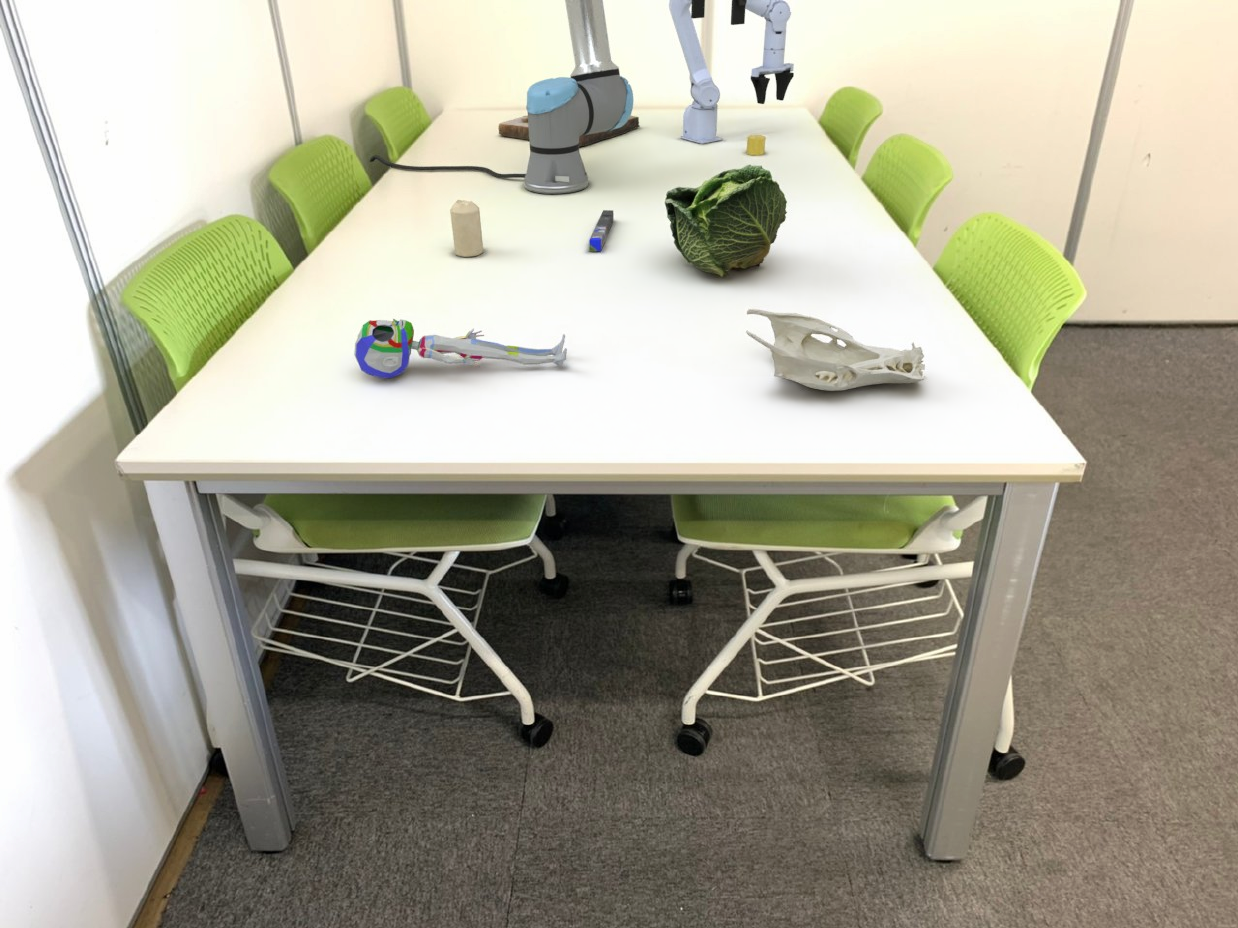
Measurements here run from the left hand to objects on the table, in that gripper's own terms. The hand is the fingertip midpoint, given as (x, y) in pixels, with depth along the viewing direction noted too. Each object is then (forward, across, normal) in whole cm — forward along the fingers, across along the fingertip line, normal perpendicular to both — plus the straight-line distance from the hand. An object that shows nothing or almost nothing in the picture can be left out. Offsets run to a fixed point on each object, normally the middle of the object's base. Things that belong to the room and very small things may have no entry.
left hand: (717, 21), depth 177 cm
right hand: (+28, +50, -54) cm, 79 cm away
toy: (+37, -46, +76) cm, 96 cm away
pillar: (+37, -3, +29) cm, 47 cm away
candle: (+37, +2, +56) cm, 67 cm away
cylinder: (+37, +36, -40) cm, 65 cm away
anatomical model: (+38, -77, +32) cm, 91 cm away
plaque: (+37, +86, -10) cm, 94 cm away
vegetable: (+37, -32, +19) cm, 53 cm away
